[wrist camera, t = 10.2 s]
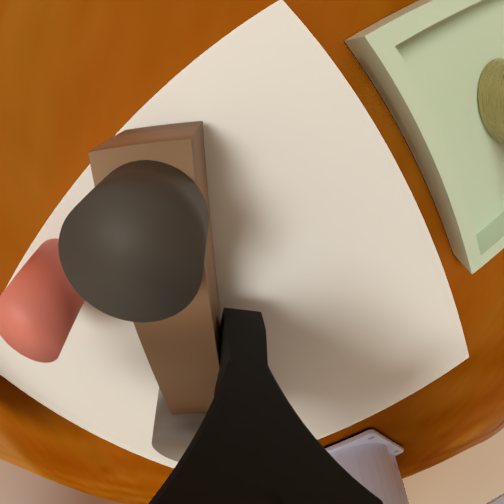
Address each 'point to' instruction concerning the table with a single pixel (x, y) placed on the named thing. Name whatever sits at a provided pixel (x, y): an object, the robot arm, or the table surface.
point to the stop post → (39, 306)
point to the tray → (445, 110)
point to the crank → (154, 264)
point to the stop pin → (492, 98)
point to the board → (276, 247)
